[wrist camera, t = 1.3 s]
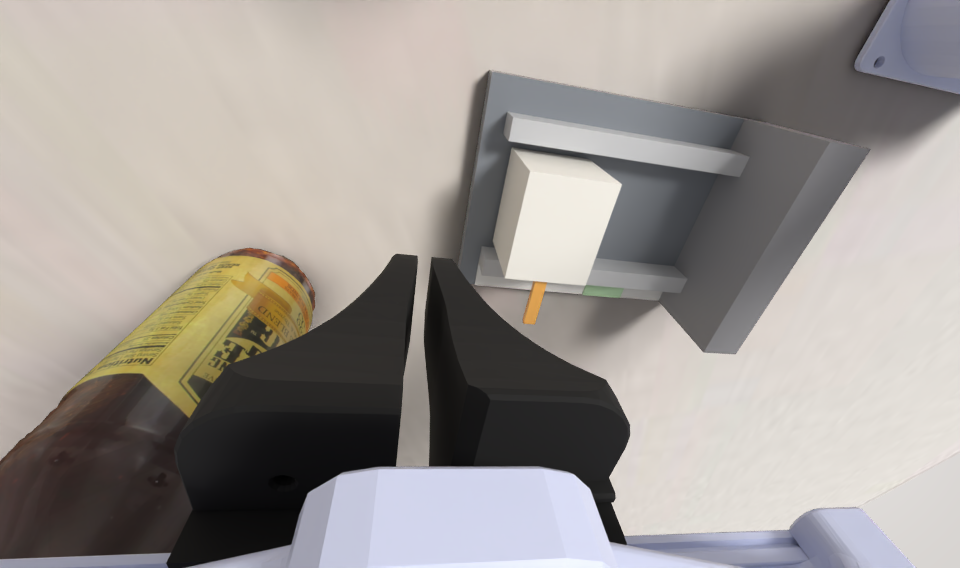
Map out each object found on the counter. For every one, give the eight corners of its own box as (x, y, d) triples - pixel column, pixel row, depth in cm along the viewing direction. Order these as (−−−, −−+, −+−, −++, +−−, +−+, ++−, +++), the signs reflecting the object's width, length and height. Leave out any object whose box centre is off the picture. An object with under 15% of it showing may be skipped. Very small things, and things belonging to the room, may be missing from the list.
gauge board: (764, 121, 21) (870, 149, 16) (677, 293, 27) (735, 354, 22) (489, 69, 18) (513, 83, 13) (456, 274, 24) (464, 338, 19)
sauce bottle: (326, 331, 25) (124, 926, 8) (218, 331, 24) (-249, 999, 7) (312, 237, 22) (-77, 926, 5) (186, 233, 21) (-814, 1061, 4)
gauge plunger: (588, 158, 20) (622, 184, 16) (548, 290, 24) (568, 332, 20) (511, 147, 19) (530, 171, 16) (483, 285, 23) (493, 328, 20)
